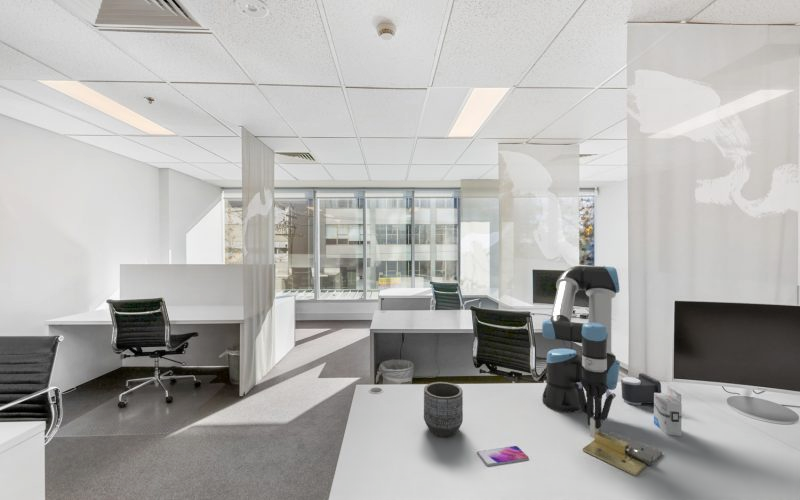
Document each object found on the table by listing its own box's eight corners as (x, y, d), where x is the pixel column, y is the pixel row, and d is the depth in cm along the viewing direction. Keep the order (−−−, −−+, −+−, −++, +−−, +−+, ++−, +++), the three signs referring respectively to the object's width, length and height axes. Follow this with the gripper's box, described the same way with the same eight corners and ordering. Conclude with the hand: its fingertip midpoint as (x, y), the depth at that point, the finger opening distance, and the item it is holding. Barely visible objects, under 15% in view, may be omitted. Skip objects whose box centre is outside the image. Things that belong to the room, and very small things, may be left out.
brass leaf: (582, 450, 107) (582, 441, 107) (598, 439, 114) (598, 430, 114) (635, 476, 95) (635, 465, 95) (650, 462, 101) (650, 452, 101)
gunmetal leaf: (596, 443, 111) (596, 434, 111) (611, 433, 118) (611, 424, 118) (649, 467, 99) (649, 457, 99) (662, 454, 105) (662, 444, 105)
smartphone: (475, 451, 106) (516, 445, 110) (475, 454, 106) (516, 447, 110) (486, 465, 99) (529, 458, 103) (486, 468, 99) (530, 460, 103)
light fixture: (615, 398, 148) (614, 374, 148) (644, 396, 148) (642, 372, 148) (633, 409, 137) (632, 383, 137) (664, 407, 137) (662, 381, 137)
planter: (466, 424, 123) (466, 385, 123) (456, 445, 110) (456, 401, 110) (431, 416, 129) (431, 379, 129) (418, 435, 116) (418, 393, 116)
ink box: (653, 422, 125) (653, 384, 125) (667, 424, 124) (667, 385, 124) (666, 434, 117) (666, 393, 117) (682, 436, 116) (682, 394, 116)
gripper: (569, 365, 117) (569, 431, 117) (609, 376, 106) (609, 449, 106) (580, 361, 121) (580, 424, 121) (619, 371, 110) (619, 441, 110)
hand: (594, 436), depth 113 cm, fingers closed
